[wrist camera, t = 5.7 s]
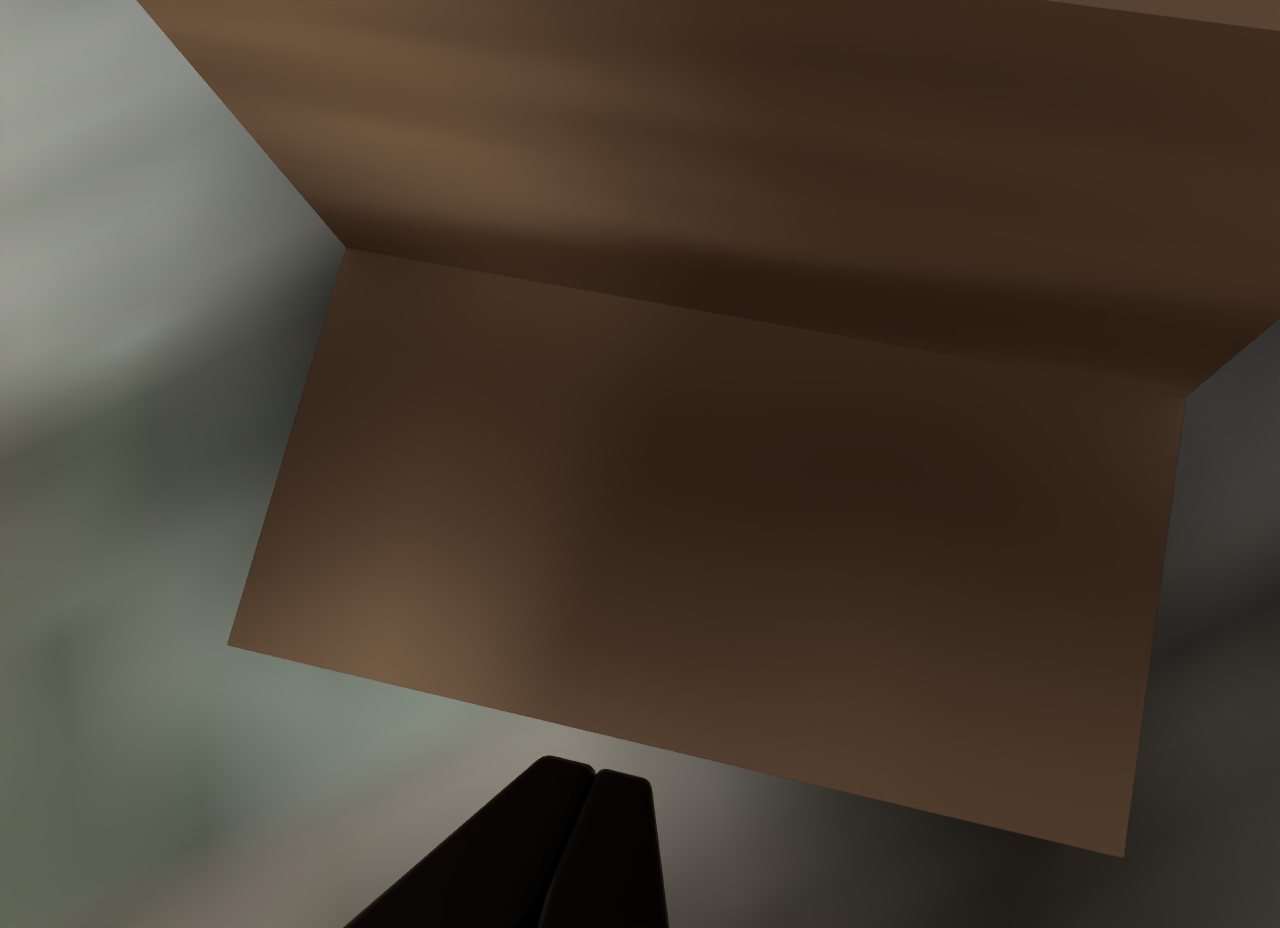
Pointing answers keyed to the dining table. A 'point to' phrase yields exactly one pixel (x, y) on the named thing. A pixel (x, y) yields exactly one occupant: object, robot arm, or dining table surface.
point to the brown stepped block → (761, 366)
